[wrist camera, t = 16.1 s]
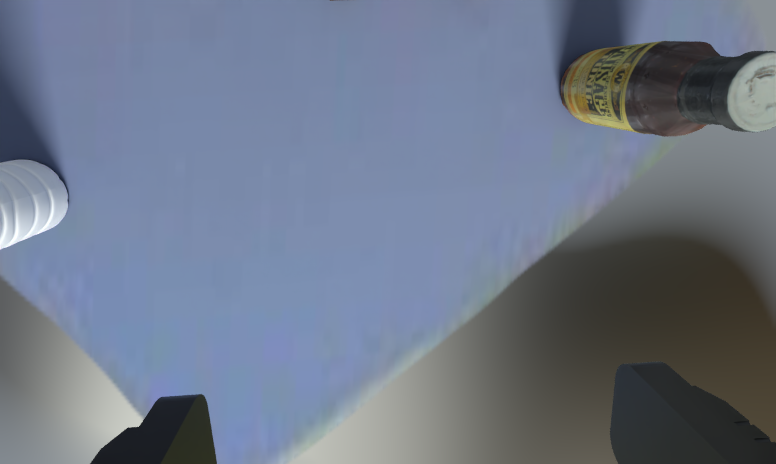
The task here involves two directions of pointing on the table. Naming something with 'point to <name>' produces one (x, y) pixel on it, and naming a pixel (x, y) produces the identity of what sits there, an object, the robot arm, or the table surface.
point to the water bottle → (29, 200)
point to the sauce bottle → (672, 88)
